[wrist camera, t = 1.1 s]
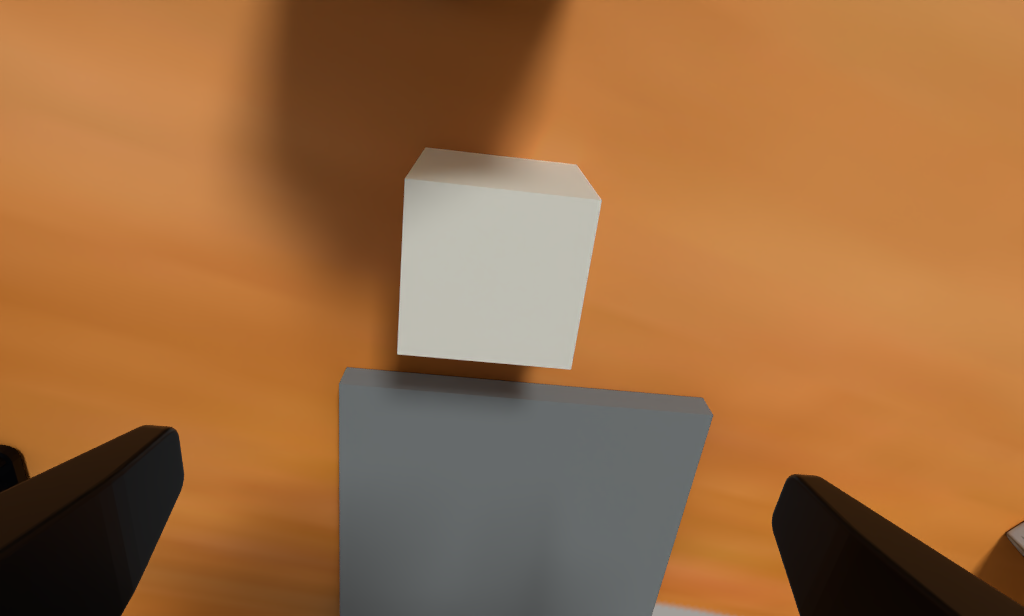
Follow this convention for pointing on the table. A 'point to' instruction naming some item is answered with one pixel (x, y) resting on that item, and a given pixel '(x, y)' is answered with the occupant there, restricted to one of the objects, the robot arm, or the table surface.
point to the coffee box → (1017, 537)
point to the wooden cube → (494, 258)
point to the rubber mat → (508, 495)
